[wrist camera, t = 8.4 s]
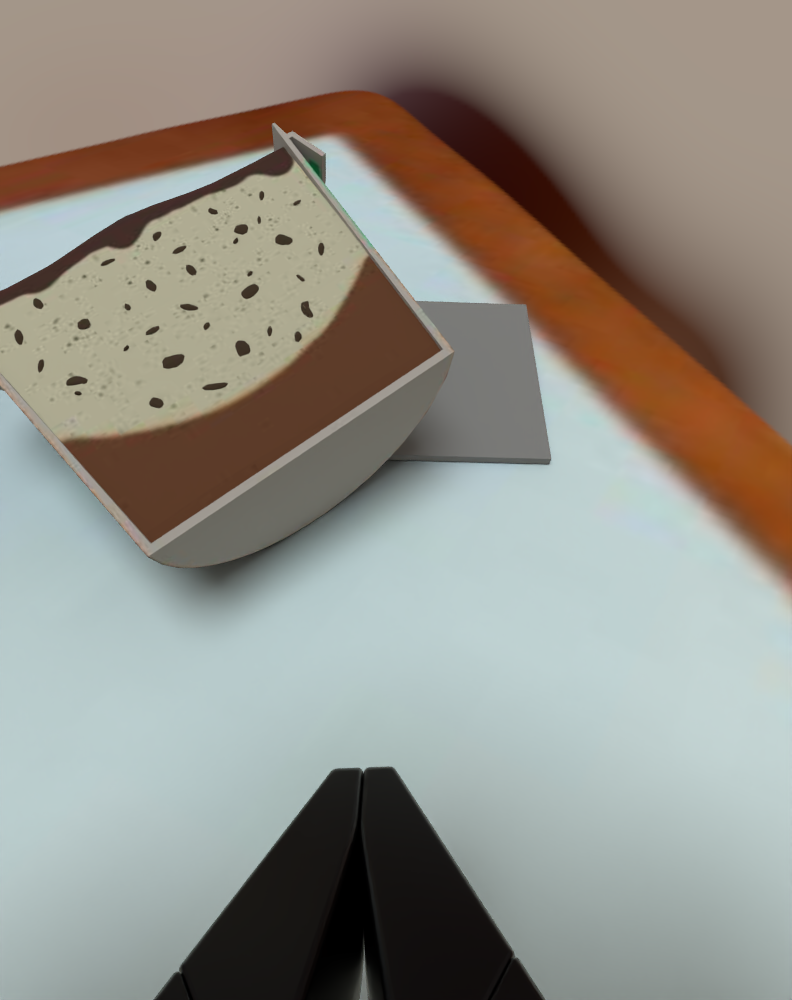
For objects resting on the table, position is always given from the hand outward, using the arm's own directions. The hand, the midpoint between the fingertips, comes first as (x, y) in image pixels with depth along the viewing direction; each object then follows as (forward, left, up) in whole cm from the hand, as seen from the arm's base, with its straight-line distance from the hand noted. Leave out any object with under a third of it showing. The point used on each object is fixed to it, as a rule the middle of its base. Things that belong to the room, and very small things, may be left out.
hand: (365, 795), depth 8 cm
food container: (+9, +1, -6) cm, 10 cm away
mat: (+15, 0, -8) cm, 17 cm away
